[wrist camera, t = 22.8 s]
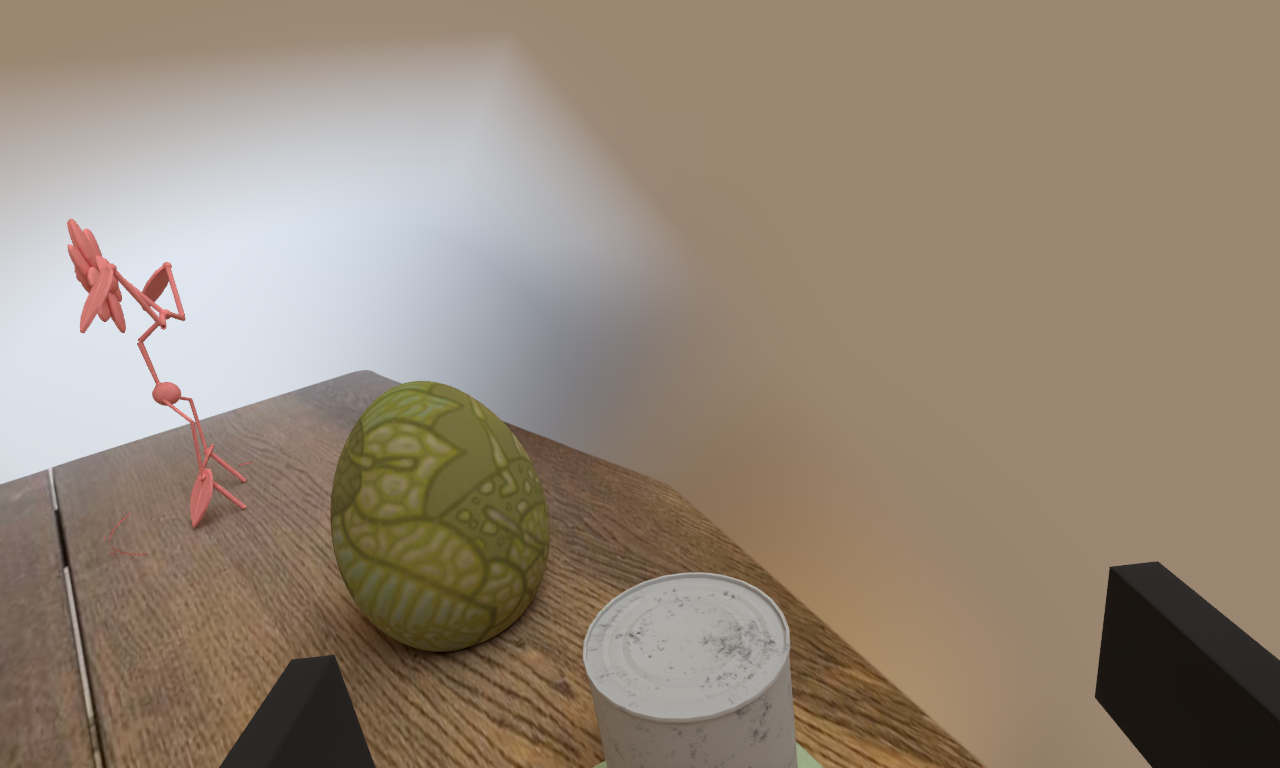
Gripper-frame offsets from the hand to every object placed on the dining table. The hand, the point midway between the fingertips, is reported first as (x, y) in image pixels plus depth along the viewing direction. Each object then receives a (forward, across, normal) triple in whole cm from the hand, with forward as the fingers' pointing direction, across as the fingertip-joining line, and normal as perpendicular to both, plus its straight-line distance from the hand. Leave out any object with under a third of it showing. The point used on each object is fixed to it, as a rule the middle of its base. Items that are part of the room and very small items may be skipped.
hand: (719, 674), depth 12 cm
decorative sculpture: (+38, -20, -26) cm, 50 cm away
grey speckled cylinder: (+16, -1, -25) cm, 30 cm away
